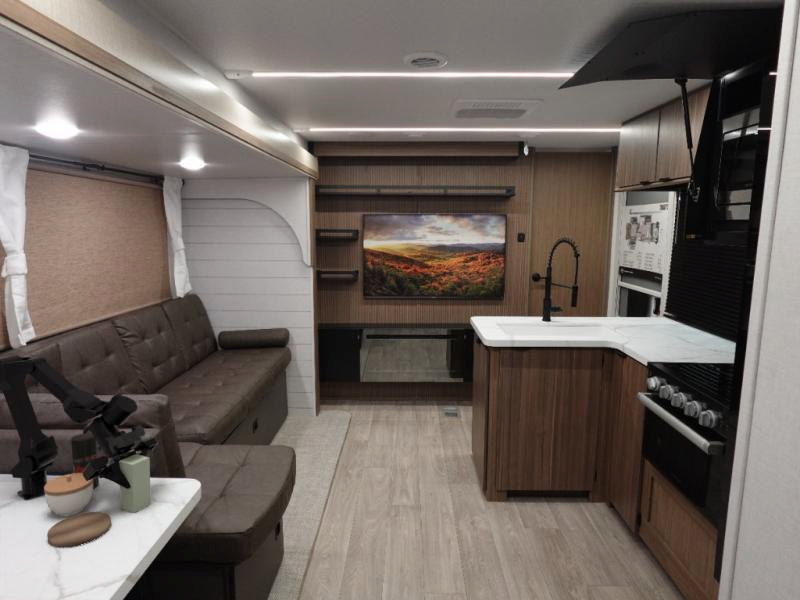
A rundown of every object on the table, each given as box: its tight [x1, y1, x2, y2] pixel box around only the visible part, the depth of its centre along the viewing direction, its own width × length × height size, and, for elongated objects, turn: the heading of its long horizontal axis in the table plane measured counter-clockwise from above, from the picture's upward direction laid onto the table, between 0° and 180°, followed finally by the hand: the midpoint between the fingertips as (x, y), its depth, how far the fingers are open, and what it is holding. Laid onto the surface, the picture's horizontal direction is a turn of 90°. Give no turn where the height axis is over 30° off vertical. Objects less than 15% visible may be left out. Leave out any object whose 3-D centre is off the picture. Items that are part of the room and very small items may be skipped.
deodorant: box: [70, 433, 100, 490], centre depth 143 cm, size 6×6×15 cm
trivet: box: [46, 511, 112, 549], centre depth 121 cm, size 13×13×2 cm
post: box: [119, 454, 152, 514], centre depth 133 cm, size 5×5×13 cm
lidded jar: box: [44, 472, 94, 517], centre depth 131 cm, size 11×11×9 cm
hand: (138, 483), depth 132 cm, fingers closed on post, 5 cm apart
